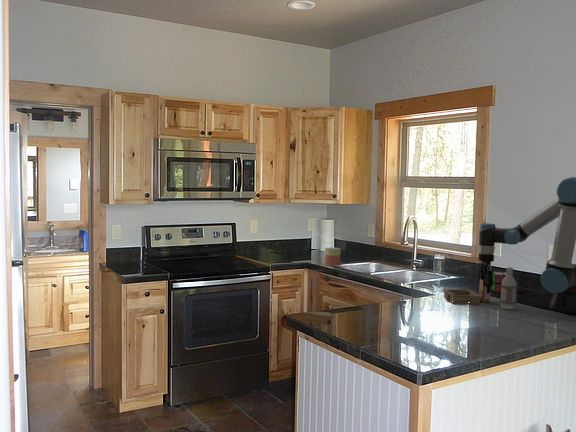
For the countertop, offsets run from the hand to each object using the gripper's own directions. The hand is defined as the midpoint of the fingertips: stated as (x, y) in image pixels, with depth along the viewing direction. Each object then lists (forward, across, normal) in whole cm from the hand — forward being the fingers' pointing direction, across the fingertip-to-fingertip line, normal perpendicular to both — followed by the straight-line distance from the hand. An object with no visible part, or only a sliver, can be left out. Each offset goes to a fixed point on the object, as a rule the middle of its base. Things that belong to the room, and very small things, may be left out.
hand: (484, 297), depth 285 cm
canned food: (+2, +117, +67) cm, 135 cm away
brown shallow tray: (+2, 0, +12) cm, 12 cm away
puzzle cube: (+2, +29, -21) cm, 36 cm away
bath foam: (+2, -15, -6) cm, 16 cm away
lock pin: (+2, 0, +9) cm, 9 cm away
